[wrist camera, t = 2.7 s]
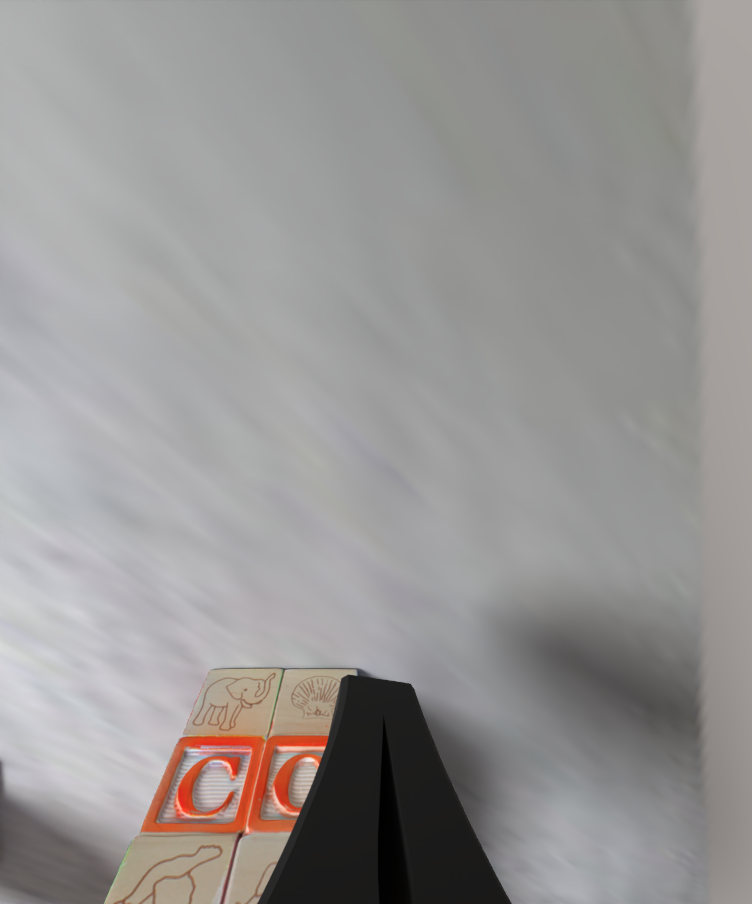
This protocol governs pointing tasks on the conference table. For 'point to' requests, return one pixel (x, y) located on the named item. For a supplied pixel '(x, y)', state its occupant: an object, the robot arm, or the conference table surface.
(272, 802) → the stack of blocks
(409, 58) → the conference table surface
